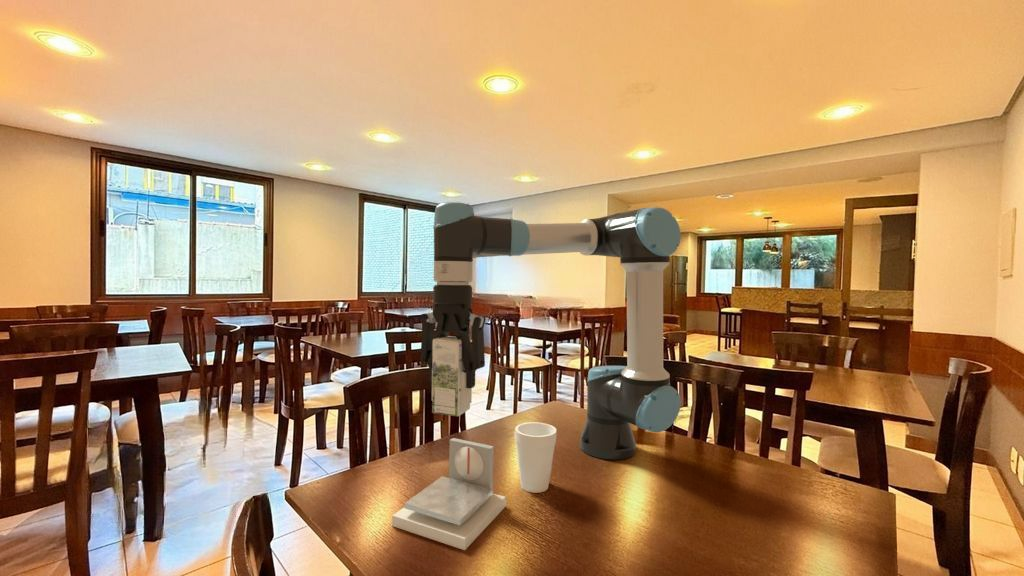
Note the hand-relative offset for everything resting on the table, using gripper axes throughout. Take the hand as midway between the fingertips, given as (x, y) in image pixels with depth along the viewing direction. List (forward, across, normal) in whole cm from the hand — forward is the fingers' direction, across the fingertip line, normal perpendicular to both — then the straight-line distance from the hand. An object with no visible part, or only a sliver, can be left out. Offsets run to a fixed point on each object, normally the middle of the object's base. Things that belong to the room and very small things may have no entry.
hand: (451, 401), depth 84 cm
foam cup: (+23, +10, +19) cm, 32 cm away
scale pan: (+20, 0, 0) cm, 20 cm away
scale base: (+23, 0, 0) cm, 23 cm away
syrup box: (+2, 0, 0) cm, 2 cm away
